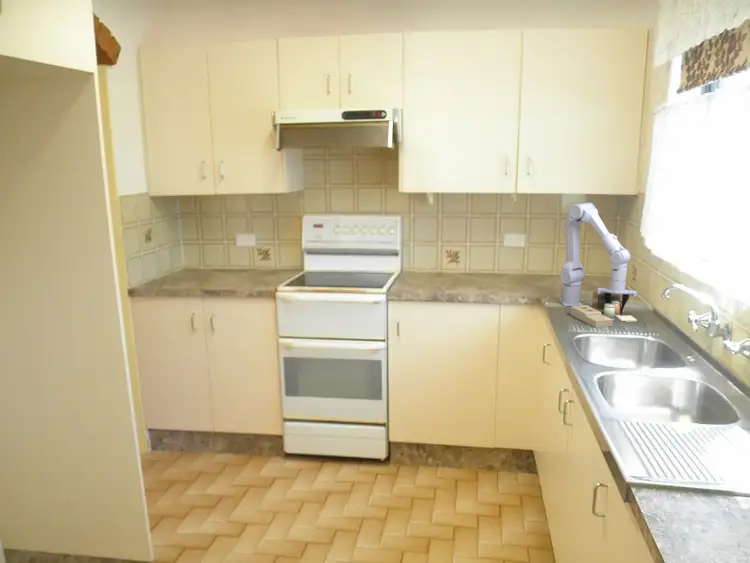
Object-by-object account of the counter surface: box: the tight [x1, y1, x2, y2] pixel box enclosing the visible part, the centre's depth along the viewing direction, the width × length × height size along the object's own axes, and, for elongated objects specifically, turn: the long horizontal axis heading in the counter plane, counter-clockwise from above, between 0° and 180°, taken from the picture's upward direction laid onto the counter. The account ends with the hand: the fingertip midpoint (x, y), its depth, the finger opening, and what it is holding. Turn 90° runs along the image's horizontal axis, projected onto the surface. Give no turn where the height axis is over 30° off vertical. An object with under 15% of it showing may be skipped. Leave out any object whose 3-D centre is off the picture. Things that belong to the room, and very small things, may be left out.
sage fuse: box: [603, 303, 615, 321], centre depth 230 cm, size 4×4×6 cm
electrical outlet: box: [569, 304, 614, 329], centre depth 229 cm, size 7×4×18 cm
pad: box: [615, 315, 638, 323], centre depth 230 cm, size 6×6×1 cm
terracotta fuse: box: [611, 300, 622, 318], centre depth 235 cm, size 4×4×6 cm
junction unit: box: [590, 290, 625, 313], centre depth 241 cm, size 5×12×8 cm, turn 89°
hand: (615, 311), depth 235 cm, fingers closed on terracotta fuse, 4 cm apart
